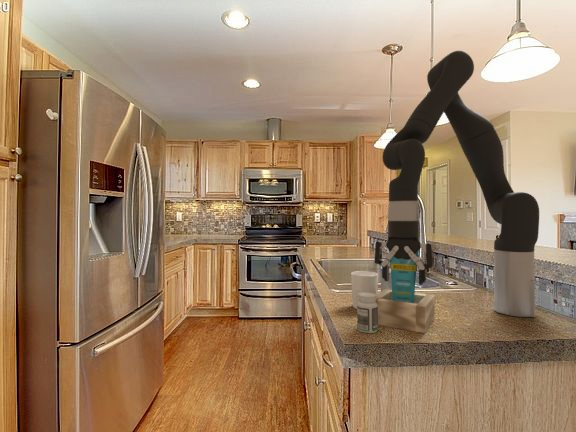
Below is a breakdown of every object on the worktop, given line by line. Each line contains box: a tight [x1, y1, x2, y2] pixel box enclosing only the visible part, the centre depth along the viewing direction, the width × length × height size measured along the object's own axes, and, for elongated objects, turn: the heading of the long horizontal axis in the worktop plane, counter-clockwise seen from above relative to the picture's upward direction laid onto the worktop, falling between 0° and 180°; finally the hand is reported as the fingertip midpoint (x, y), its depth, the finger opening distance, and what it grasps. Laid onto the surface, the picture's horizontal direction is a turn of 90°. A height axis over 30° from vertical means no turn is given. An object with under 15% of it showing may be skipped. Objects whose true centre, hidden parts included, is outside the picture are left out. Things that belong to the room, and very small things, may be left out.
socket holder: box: [375, 289, 436, 334], centre depth 84 cm, size 13×13×6 cm
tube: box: [388, 250, 420, 303], centre depth 84 cm, size 7×5×19 cm, turn 73°
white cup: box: [350, 270, 379, 310], centre depth 96 cm, size 8×8×10 cm
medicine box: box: [380, 268, 392, 292], centre depth 110 cm, size 8×4×9 cm, turn 179°
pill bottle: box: [356, 293, 379, 334], centre depth 77 cm, size 5×5×8 cm
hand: (403, 282), depth 84 cm, fingers open, 8 cm apart
